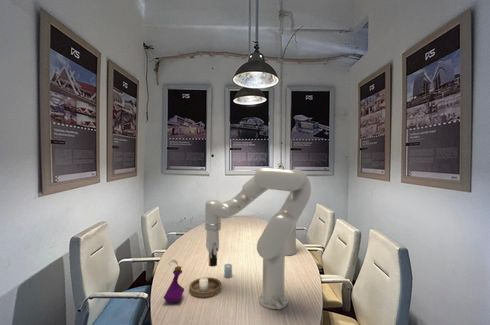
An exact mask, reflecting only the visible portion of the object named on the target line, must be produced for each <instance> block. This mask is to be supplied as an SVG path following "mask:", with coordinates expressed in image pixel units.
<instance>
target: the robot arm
mask: <svg viewBox="0 0 490 325" xmlns="http://www.w3.org/2000/svg"><path fill="white" fill-rule="evenodd" d="M268 190H275V191H283V192H289V194H288V195H287V197H286V198H285V201H284V203H283V205H282V206H281V208H280V209H279V211H277V212H276V213H275V214H273V216H271V218H270V220H269V221H268V222H267V225H266V226H265V228H264V229H263V231H262V233H261V235H260V237H259V238H258V240H257V243H256V251H257V253H258V255H259V256H260V257H261V259H262V294H260V295H259V298H258V301H259V304H260V305H261V306H262V307H263V308H266V309H269V310H281V309H283V308H286V307H287V306H288V304H289V299H288V297H287V296H286V295H285V267H286V266H285V263H286V262H285V257H286V256H285V248H286V240H287V238H288V237H289V235H290V233H291V232H292V231H293V229H294V227H295V225H296V226H297V223H298V220H299V219H300V218H301V216H302V213H303V211H304V210H305V208H306V207H307V205H308V202H309V200H310V197H311V192H312V185H311V181H310V178H309V177H308V175H307V174H306V173H305V172H304V171H303V170H301V169H299V168H298V169H297V168H294V169H280V168H274V167H272V166H263V167H259V168H257V170H256V171H255V173H254V175H253V176H252V177H251V178H250V179H249V180H247V181H246V182H245V183H244V184H243V185H242V189H241V190H240V191H239V192H238V193H237V194H236V195H235V196H234V197H232V198H230V199H229V200H226V201H222V202H221V201H220V200H217V199H211V200H207V201H206V202H205V208H204V212H205V214H204V217H205V218H204V220H205V221H204V230H205V231H206V233H205V234H206V235H205V236H206V237H205V238H206V239H205V247H206V249H207V252H208V253H209V252H211V258H210V266H209V267H211V266H214V267H217V266H218V252H219V249H220V235H219V234H220V233H219V232H220V230H221V229H222V222H221V221H222V219H227V220H228V219H229V218H231V217H234V216H235V215H237V214H239V213H241V211H242V210H244V209H245V208H247V207H248V206H249V205H250V204H251V203H253V202H254V201H256V199H257V198H259V197H260V196H262V195H263V194H264V193H265V192H267V191H268ZM212 253H213V254H212Z"/></svg>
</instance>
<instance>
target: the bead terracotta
mask: <svg viewBox="0 0 490 325" xmlns="http://www.w3.org/2000/svg"><path fill="white" fill-rule="evenodd" d="M212 254H213V253H212ZM210 258H211V252H208V266H209V267H211V268H213V267H215V266H210Z"/></svg>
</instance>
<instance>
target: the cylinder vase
mask: <svg viewBox="0 0 490 325" xmlns="http://www.w3.org/2000/svg"><path fill="white" fill-rule="evenodd" d="M296 252H297V224H296V225H295V227H294V229H293V231H292V232H291V233H290V235H289V237H288V238H287V240H286V248H285V257H286V256H294V255H295V254H296Z"/></svg>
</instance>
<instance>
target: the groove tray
mask: <svg viewBox="0 0 490 325" xmlns="http://www.w3.org/2000/svg"><path fill="white" fill-rule="evenodd" d="M206 278H208V292H199V279H200V277H199V278H196V279H195V280H193V281H191V282H190V284H189V285H188V286H189V287H188V288H189V294H190V296H192V297H194V298H197V299H209V298H213V297H216V296H218V293H219V292H222V282H221V280H219V279H218V278H214V277H210V276H209V277H207V276H206ZM219 294H220V293H219ZM215 295H216V296H215Z"/></svg>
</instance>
